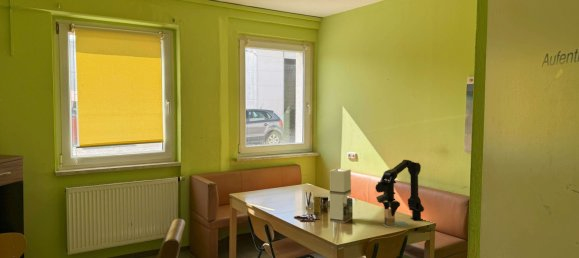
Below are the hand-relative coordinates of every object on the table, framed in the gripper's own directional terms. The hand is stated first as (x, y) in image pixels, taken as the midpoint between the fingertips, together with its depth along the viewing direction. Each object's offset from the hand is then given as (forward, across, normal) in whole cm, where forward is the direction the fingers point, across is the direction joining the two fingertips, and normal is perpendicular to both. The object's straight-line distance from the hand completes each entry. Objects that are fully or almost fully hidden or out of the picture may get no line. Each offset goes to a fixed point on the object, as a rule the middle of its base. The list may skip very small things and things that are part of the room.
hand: (389, 214), depth 280 cm
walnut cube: (+7, 0, 0) cm, 7 cm away
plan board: (+8, 0, +4) cm, 9 cm away
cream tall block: (+8, -22, -26) cm, 35 cm away
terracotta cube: (+2, 0, 0) cm, 2 cm away
